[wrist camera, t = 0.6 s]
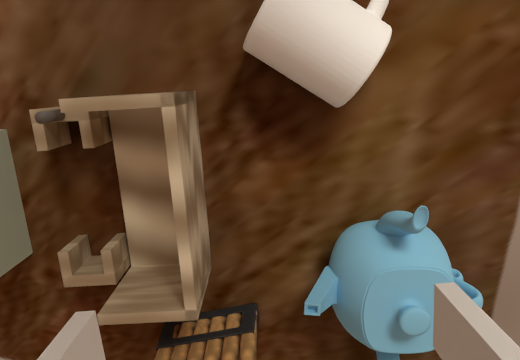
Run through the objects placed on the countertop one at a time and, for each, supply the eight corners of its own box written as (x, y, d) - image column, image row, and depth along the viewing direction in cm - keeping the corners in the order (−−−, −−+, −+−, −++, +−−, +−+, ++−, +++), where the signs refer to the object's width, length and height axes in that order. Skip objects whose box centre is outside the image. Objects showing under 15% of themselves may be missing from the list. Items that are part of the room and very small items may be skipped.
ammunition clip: (169, 332, 44) (137, 420, 33) (165, 319, 44) (131, 403, 32) (259, 316, 44) (259, 400, 32) (256, 302, 44) (255, 382, 32)
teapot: (281, 253, 42) (289, 313, 31) (380, 172, 40) (427, 206, 29) (366, 343, 45) (401, 426, 34) (463, 271, 43) (535, 336, 32)
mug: (329, 106, 38) (347, 111, 31) (243, 52, 37) (239, 43, 29) (400, -6, 36) (439, -31, 28) (310, -68, 35) (325, -111, 27)
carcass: (53, 98, 38) (-17, 103, 28) (195, 90, 38) (173, 92, 28) (85, 272, 42) (34, 328, 33) (211, 266, 42) (197, 320, 33)
